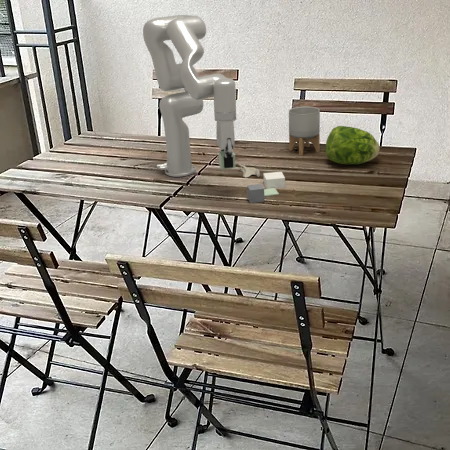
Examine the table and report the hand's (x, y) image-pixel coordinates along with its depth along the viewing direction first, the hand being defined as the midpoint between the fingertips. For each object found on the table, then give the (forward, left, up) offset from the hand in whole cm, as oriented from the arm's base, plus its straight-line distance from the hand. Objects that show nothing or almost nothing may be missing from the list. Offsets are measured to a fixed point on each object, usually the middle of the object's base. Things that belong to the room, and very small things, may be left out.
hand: (227, 164), depth 225 cm
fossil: (+13, +20, -13) cm, 26 cm away
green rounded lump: (+55, +17, -12) cm, 58 cm away
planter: (+41, +39, -12) cm, 58 cm away
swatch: (+14, -3, -12) cm, 19 cm away
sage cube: (0, 0, -1) cm, 1 cm away
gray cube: (+8, -8, -12) cm, 17 cm away
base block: (+18, +4, -12) cm, 22 cm away
